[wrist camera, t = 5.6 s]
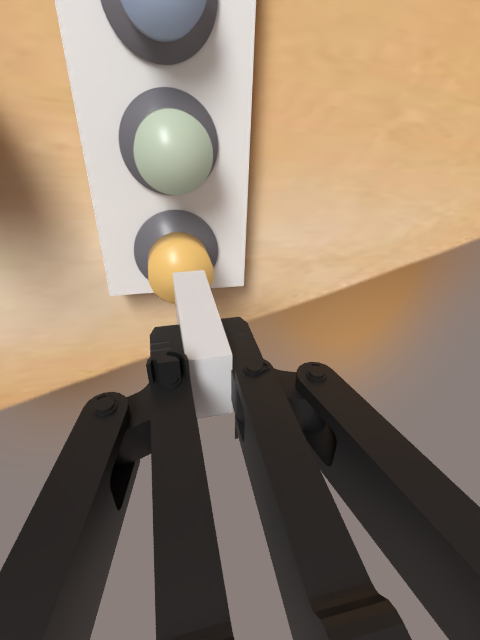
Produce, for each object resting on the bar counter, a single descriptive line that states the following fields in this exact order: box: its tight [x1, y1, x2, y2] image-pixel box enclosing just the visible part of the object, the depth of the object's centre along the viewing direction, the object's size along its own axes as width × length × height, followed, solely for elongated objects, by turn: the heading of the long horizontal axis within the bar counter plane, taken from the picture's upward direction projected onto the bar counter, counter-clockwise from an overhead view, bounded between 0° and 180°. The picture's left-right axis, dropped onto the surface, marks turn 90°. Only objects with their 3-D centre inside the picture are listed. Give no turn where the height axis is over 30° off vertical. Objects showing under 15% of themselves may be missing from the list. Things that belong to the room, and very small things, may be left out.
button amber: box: [148, 232, 214, 304], centre depth 25 cm, size 4×4×2 cm
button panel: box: [55, 0, 256, 296], centre depth 25 cm, size 11×22×3 cm, turn 178°
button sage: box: [133, 107, 213, 195], centre depth 21 cm, size 4×4×2 cm
